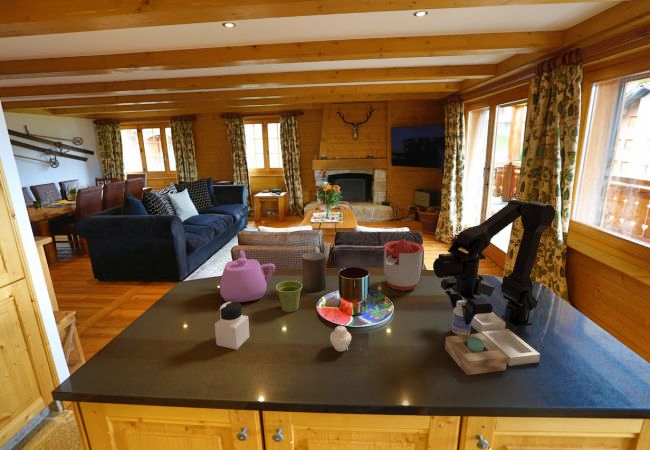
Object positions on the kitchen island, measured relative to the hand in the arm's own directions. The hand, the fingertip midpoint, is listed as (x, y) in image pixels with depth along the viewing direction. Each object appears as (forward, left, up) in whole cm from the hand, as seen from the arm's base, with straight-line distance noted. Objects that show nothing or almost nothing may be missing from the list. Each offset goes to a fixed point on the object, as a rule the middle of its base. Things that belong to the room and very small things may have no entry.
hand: (462, 319), depth 102 cm
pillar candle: (+41, -40, -4) cm, 57 cm away
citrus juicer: (+6, -35, -4) cm, 36 cm away
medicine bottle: (+70, -7, -4) cm, 70 cm away
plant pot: (+52, -24, -4) cm, 57 cm away
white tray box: (-9, -1, -4) cm, 10 cm away
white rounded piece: (+39, +2, -4) cm, 39 cm away
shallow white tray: (-8, +11, -4) cm, 14 cm away
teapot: (+69, -38, -4) cm, 79 cm away
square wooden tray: (+4, +13, -4) cm, 14 cm away
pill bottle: (0, 0, -4) cm, 4 cm away
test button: (+4, +13, -2) cm, 14 cm away
